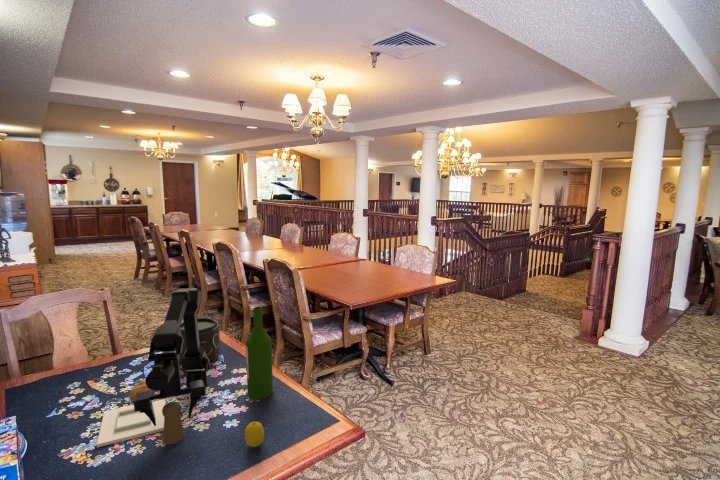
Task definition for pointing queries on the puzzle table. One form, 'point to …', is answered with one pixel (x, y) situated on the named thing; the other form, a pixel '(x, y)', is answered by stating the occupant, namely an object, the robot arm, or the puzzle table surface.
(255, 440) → the lemon
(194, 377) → the robot arm
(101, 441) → the cream flat square slab
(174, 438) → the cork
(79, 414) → the puzzle table surface
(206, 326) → the dark grey round container
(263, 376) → the wine bottle
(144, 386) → the pastry
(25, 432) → the puzzle table surface
